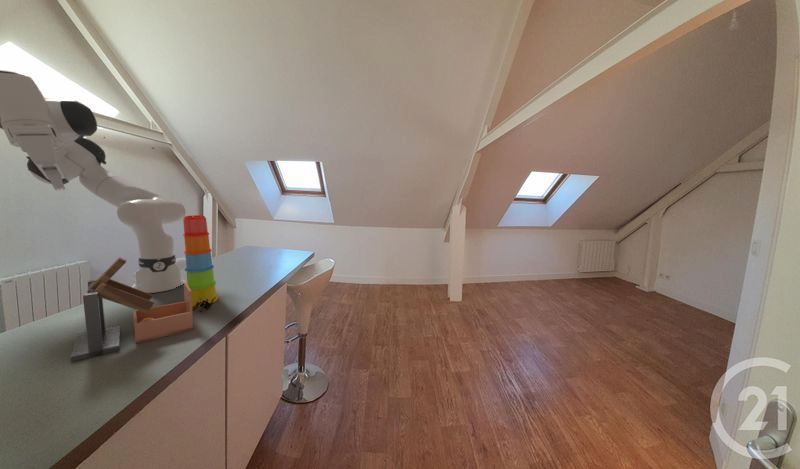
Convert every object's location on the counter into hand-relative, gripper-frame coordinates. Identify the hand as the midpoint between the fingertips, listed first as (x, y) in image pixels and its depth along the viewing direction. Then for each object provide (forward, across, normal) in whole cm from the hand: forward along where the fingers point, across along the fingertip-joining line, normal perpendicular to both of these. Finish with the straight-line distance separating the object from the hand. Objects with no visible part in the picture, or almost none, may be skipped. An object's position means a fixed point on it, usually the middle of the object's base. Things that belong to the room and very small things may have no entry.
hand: (60, 189), depth 72 cm
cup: (+47, +1, +8) cm, 47 cm away
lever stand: (+44, 0, -6) cm, 44 cm away
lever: (+33, +3, +1) cm, 34 cm away
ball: (+43, +1, +5) cm, 44 cm away
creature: (+48, -9, +20) cm, 53 cm away
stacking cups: (+47, -17, +22) cm, 54 cm away
